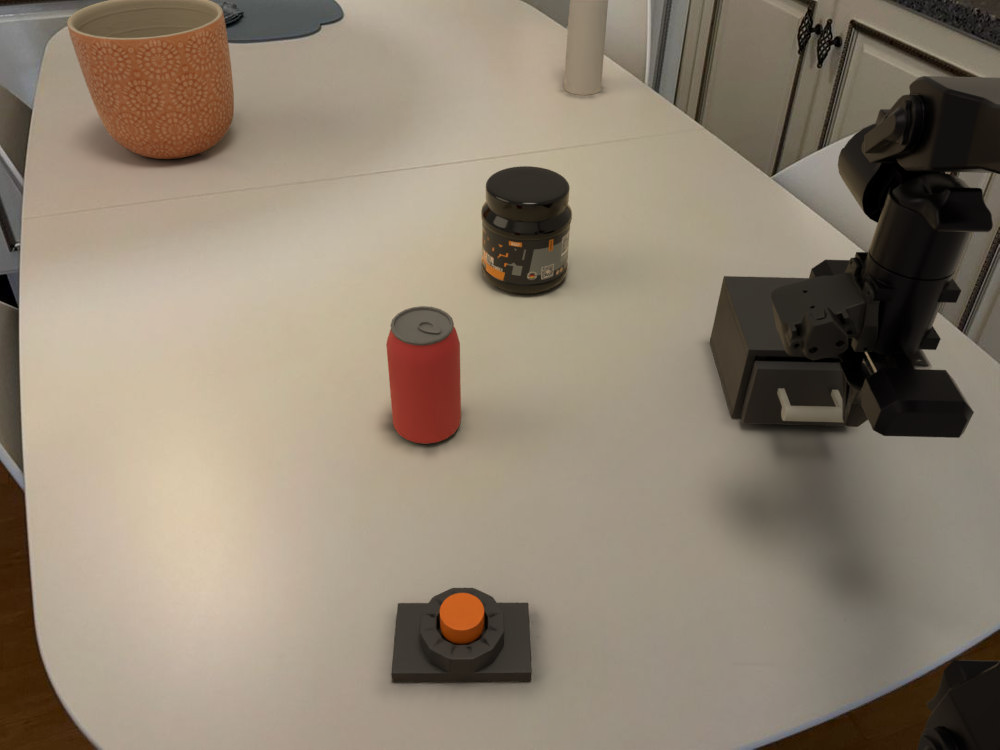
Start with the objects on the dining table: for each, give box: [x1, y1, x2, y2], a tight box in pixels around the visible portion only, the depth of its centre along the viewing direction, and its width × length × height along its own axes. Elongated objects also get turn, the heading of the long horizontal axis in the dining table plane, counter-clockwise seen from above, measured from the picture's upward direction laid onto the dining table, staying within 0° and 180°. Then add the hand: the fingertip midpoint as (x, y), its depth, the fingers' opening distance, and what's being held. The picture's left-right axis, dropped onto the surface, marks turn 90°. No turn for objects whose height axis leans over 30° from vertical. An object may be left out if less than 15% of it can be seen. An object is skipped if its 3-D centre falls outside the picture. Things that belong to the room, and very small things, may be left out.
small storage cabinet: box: [709, 275, 838, 420], centre depth 86 cm, size 13×12×9 cm
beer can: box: [385, 305, 462, 445], centre depth 79 cm, size 7×7×12 cm
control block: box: [391, 587, 533, 683], centre depth 63 cm, size 10×6×3 cm, turn 91°
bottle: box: [563, 0, 609, 96], centre depth 144 cm, size 7×7×28 cm
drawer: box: [740, 356, 846, 427], centre depth 83 cm, size 15×10×7 cm
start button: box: [440, 593, 484, 644], centre depth 62 cm, size 3×3×2 cm
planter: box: [66, 0, 235, 160], centre depth 126 cm, size 21×21×19 cm
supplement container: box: [480, 165, 573, 295], centre depth 100 cm, size 10×10×12 cm
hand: (850, 423), depth 69 cm, fingers closed
